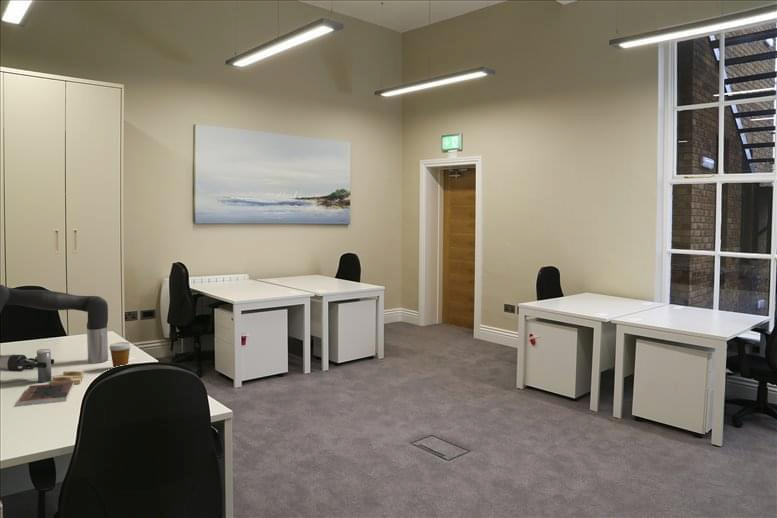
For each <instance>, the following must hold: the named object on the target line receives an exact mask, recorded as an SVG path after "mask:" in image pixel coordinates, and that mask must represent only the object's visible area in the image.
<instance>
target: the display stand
mask: <svg viewBox="0 0 777 518" xmlns="http://www.w3.org/2000/svg"><path fill="white" fill-rule="evenodd" d="M83 372H84V371H83V370H79V371H78V370H77V371H76V370H75V371H73V370H72V371H69V370H66V371H65V370H64V371H63V373H62V375H55V376H53V377H52V376H51V377H52V380H51V383H50V384H55V383H66V382H74V386H76V385H81V383H82V381H83V380H84V373H83ZM82 379H83V380H82Z"/></svg>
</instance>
